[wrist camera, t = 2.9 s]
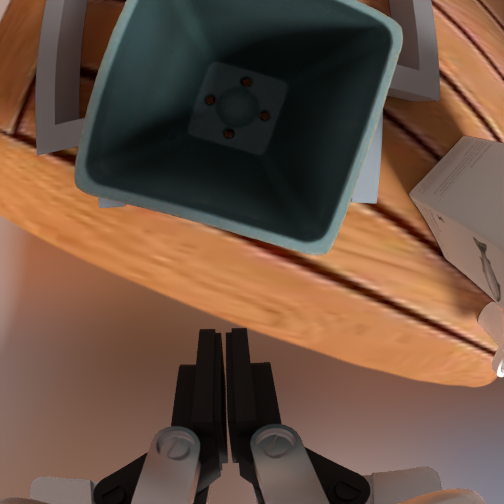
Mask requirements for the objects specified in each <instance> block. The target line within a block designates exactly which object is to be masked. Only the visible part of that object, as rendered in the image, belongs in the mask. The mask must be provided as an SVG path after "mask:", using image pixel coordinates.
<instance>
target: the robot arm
mask: <svg viewBox="0 0 504 504" xmlns="http://www.w3.org/2000/svg"><path fill="white" fill-rule="evenodd" d="M247 337H248V336H247V328H232V332H230V333H226V378H227V414H228V426H229V436H230V444H231V452H232V460H233V463H239V468H240V476H242V477H243V478H244V479H246V480H247V481H249V482H250V483H251V486H252V489H253V493H254V496H255V499H256V502H257V504H487V503H486V501H485V500H484V499H483V498H482V497H481V496H480V495H479V494H478V493H477V492H475V491H473V490H469V489H447V490H442V487H441V481H440V477H439V474H438V472H436V471H435V470H434V469H432V468H430V467H418V468H412V469H406V470H397V471H389V472H380V473H372V475H365V476H361V475H360V474H358V473H356V472H353V471H351V470H349V469H347V468H345V467H343V466H341V465H339V464H337V463H335V462H333V461H331V460H329V459H327V458H325V457H323V456H321V455H319V454H317V453H315V452H313V451H311V450H309V449H307V448H306V447H304V445H303V443H302V440H301V438H300V436H299V435H298V433H297V432H296V431H295V430H293V429H292V428H290V427H288V426H286V425H282V424H281V419H280V413H279V408H278V402H277V397H276V392H275V386H274V381H273V375H272V370H271V365H270V363H269V362H264V363H250V355H249V346H248V338H247ZM226 423H227V421H226V385H225V373H224V362H223V350H222V338H221V333H216V332H215V329H200V332H199V341H198V351H197V361H196V365H180V367H179V372H178V379H177V386H176V393H175V400H174V407H173V416H172V423H171V427H167V428H165V429H163V430H160V431H159V432H158V433H157V434H156V435H155V436H154V438H153V440H152V442H151V445H150V448H149V451H148V452H147V453H146V454H144V455H142V456H141V457H140V458H138V459H136V460H135V461H133V462H131V463H130V464H128V465H126V466H125V467H123V468H121V469H120V470H118V471H116V472H115V473H113V474H111V475H109V476H108V477H106V478H104V479H102V480H101V481H100V482H92V481H91V480H85V479H67V478H56V477H45V476H44V477H38V478H36V479H35V480H34V481H33V482H32V484H31V488H30V499H28V498H19V497H17V498H16V497H15V498H14V497H10V498H3V499H0V504H209V500H210V495H211V489H212V483H213V482H214V481H215V480H216V479H217V478H219V477H220V476H221V475H220V474H221V473H220V470H222V463H228V452H227V451H228V450H227V424H226Z"/></svg>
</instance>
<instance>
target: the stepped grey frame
mask: <svg viewBox="0 0 504 504" xmlns="http://www.w3.org/2000/svg"><path fill="white" fill-rule="evenodd" d="M87 1H88V0H46V5H45V10H44V15H43V21H42V27H41V33H40V41H39V49H38V59H37V71H36V92H35V122H36V144H37V156H38V155H42V154H46V153H50V152H55V151H60V150H64V149H69V148H75V147H78V146H79V141H80V137H81V133H82V129H83V125H84V120H85V118H82V119H80V112H79V89H80V63H81V49H82V38H83V29H84V21H85V14H86V7H87ZM389 5H390V13H391V18H392V19H393V20H395V21H396V22H397V23H398V24H399V25H400V26H401V28H402V34H403V43H402V49H401V52H400V54H399V58H398V61H397V64H396V67H395V70H394V74H393V76H392V80H391V84H390V87H389V89H388V93H387V96H390V97H395V98H400V99H404V100H408V101H412V102H419V101H440V81H439V61H438V48H437V38H436V30H435V22H434V15H433V9H432V3H431V0H389ZM382 126H383V109H382V113H381V115H380V119H379V121H378V125H377V128H376V131H375V134H374V136H373V140H372V142H371V145H370V148H369V151H368V154H367V157H366V160H365V162H364V165H363V168H362V170H361V173H360V176H359V180H358V182H357V184H356V187H355V191H354V194H353V197H352V199H351V202H358V203H377V194H378V185H379V174H380V162H381V147H382ZM98 200H99V207H100V208H109V207H122V206H125V205H126V204H125V203H120V202H117V201H112V200H108V199H104V198H99V197H98Z"/></svg>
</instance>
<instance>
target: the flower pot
mask: <svg viewBox="0 0 504 504" xmlns="http://www.w3.org/2000/svg"><path fill="white" fill-rule="evenodd" d="M402 43H403V34H402V28H401V26H400V25H399V24H398V23H397V22H396V21H395V20H393V19H392V18H390V17H388V16H387V15H385V14H383V13H381V12H380V11H378V10H376V9H374V8H372V7H370V6H368V5H366V4H364V3H362V2H359V1H357V0H126V2H125V5H124V7H123V10H122V12H121V14H120V16H119V18H118V21H117V23H116V26H115V27H114V29H113V32H112V35H111V37H110V40H109V43H108V46H107V48H106V51H105V53H104V57H103V59H102V62H101V65H100V68H99V70H98V74H97V77H96V80H95V84H94V87H93V91H92V93H91V97H90V100H89V104H88V107H87V111H86V116H85V120H84V125H83V129H82V133H81V137H80V141H79V146H78V151H77V157H76V163H75V184H76V186H77V188H79V189H80V190H82V191H83V192H85V193H87V194H90V195H92V196H96V197H99V198H104V199H108V200H112V201H117V202H120V203H125V204H129V205H132V206H137V207H141V208H146V209H149V210H153V211H158V212H161V213H165V214H170V215H172V216H176V217H179V218H184V219H188V220H191V221H195V222H199V223H203V224H206V225H209V226H213V227H216V228H219V229H222V230H226V231H230V232H233V233H237V234H240V235H244V236H247V237H250V238H254V239H258V240H261V241H264V242H267V243H271V244H275V245H278V246H281V247H284V248H288V249H291V250H295V251H297V252H301V253H305V254H310V255H323V254H326V253H327V252H329V251H330V249H331V247H332V245H333V243H334V241H335V239H336V237H337V235H338V233H339V230H340V227H341V225H342V222H343V220H344V218H345V216H346V213H347V209H348V207H349V204H350V202H351V199H352V197H353V194H354V191H355V187H356V184H357V182H358V180H359V176H360V173H361V170H362V168H363V165H364V162H365V160H366V157H367V154H368V151H369V148H370V145H371V142H372V140H373V136H374V134H375V131H376V128H377V125H378V121H379V119H380V115H381V113H382V109H383V106H384V103H385V100H386V96H387V93H388V89H389V87H390V84H391V80H392V76H393V74H394V70H395V67H396V64H397V61H398V58H399V54H400V52H401V49H402ZM244 79H250V81H251V85H250V86H247V87H245V86H244V85H243V84H242V81H243V80H244ZM210 96H212V97H214V98H215V103H214V104H212V105H209V104H207V101H206V100H207V98H208V97H210ZM264 111H265V112H268V113H269V118H268V119H267V120H262V119H261V118H260V114H261V113H262V112H264ZM228 129H232V130H233V131H234V135H233V137H231V138H227V137H226V136H225V134H224V133H225V131H226V130H228Z"/></svg>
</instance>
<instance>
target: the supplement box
mask: <svg viewBox="0 0 504 504" xmlns="http://www.w3.org/2000/svg"><path fill="white" fill-rule="evenodd" d="M409 196H410V198H411V199H412V201H413V202H414V203H415V205H416V206H417V208H418V209H419V211H420V212H421V214H422V215H423V217H424V219H425V220H426V222H427V224H428V226H429V227H430V229H431V231H432V233H433V235H434V237H435V238H436V240H437V242H438V244H439V246H440V248H441V250H442V253H443V255H444V257H445V259H447V260H448V261H449V262H450V263H452V264H453V265H454V266H455V267H456V268H458V269H459V270H460V271H461V272H462V273H464V274H465V275H466V276H467V277H468V278H469V279H471V280H472V281H473V282H474V283H475V284H476V285H477V286H479V287H480V288H481V289H482V290H483V291H484V292H485V293H486V294H488V295H489V296H490V297H491V298H492V299H493V300H494V301H495V302H496V303H497V304H498V305H499V306H501V307H502V308H503V309H504V143H500V142H495V141H491V140H486V139H481V138H476V137H470V136H465V135H464V136H463V137H462V138H461V139H460V140H459V141H458V142H457V143H456V144H455V145H454V146H453V147H452V148H451V150H450V151H449V152H448V153H447V154H446V155H445V156H444V157H443V158H442V159H441V160H440V161H439V162H438V163H437V164H436V165H435V166H434V167H433V168H432V169H431V171H430V172H429V173H428V174H427V175H426V176H425V177H424V178H423V179H422V180H421V181H420V182H419V183H418V184H417V185H416V186H415V187H414V188H413V189H412V190H411V192H410V193H409Z"/></svg>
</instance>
